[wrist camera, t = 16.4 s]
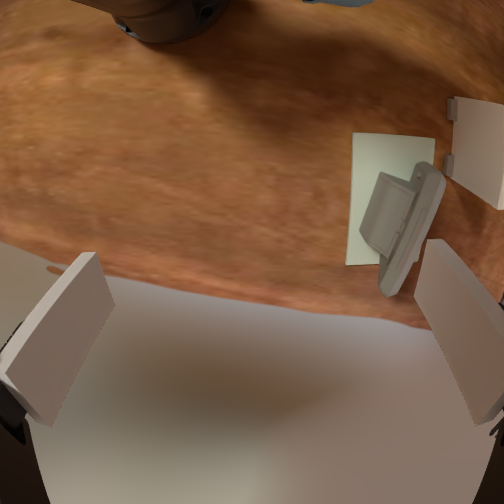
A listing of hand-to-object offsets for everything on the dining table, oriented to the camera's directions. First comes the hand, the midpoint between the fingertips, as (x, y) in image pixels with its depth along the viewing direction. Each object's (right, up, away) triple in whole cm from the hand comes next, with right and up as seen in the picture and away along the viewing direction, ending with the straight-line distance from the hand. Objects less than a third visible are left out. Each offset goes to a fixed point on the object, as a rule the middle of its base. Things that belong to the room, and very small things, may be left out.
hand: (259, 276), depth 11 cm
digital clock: (+19, +7, +28) cm, 34 cm away
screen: (+28, +17, +22) cm, 39 cm away
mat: (+19, +8, +28) cm, 34 cm away
